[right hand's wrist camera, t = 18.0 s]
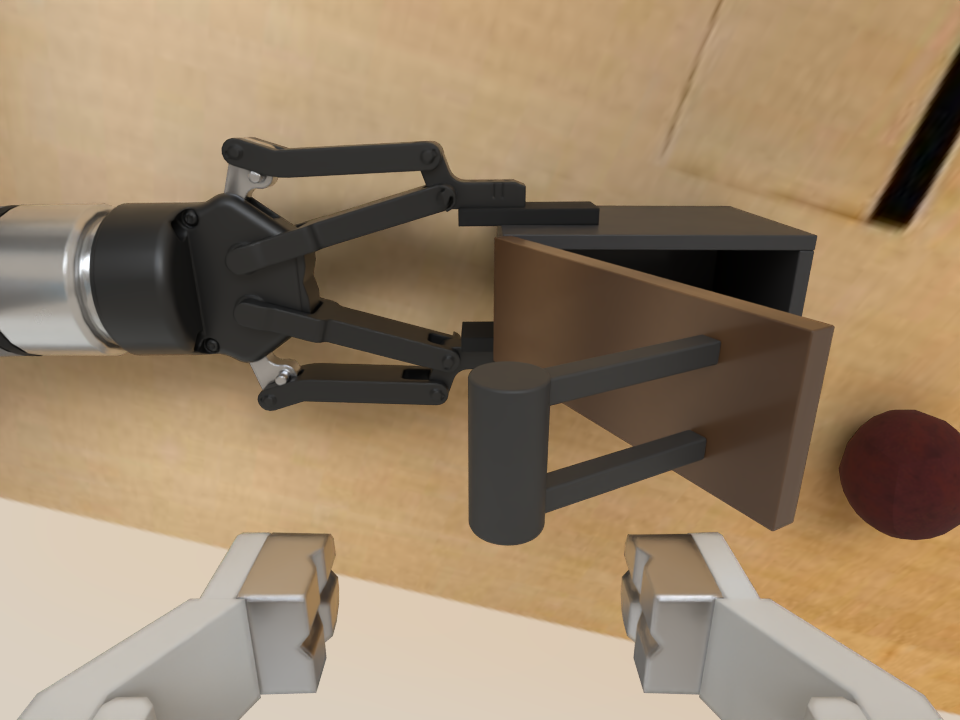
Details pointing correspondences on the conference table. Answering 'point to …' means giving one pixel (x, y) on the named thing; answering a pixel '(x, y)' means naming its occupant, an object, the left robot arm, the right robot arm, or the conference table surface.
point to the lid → (636, 390)
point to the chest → (694, 249)
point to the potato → (904, 474)
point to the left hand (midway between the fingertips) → (589, 276)
